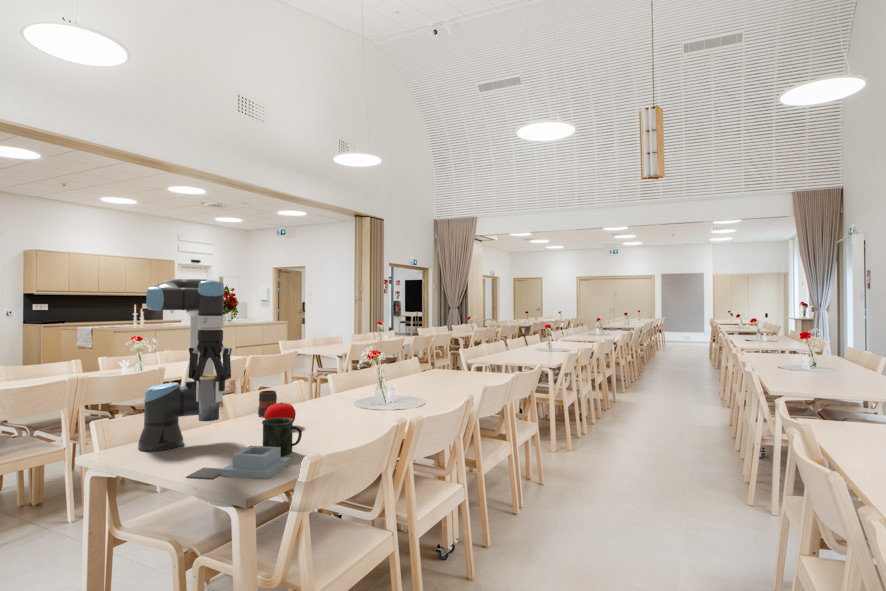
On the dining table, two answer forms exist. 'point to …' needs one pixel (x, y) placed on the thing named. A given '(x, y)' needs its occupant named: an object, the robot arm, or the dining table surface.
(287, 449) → the mug
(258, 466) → the housing
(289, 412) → the tomato
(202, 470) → the mat
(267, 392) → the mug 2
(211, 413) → the grey canister
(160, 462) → the dining table surface
